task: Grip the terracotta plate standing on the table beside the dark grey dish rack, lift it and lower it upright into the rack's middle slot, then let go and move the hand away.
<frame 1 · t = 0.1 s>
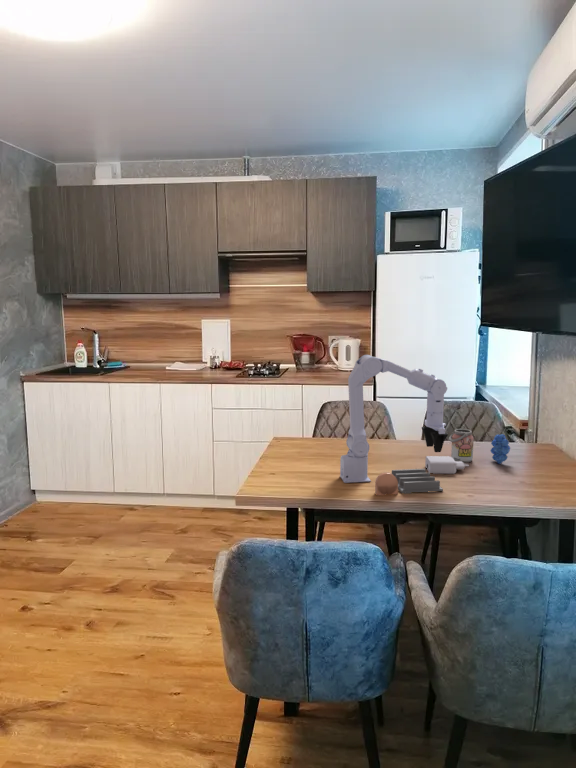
hand: (433, 449, 196), 10 cm above the table, tool pointing down, fingers open, 7 cm apart
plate: (386, 493, 180), on the table
grapes: (501, 463, 213), on the table
charger: (447, 471, 205), on the table
beverage can: (460, 460, 218), on the table
dish rack: (414, 485, 188), on the table
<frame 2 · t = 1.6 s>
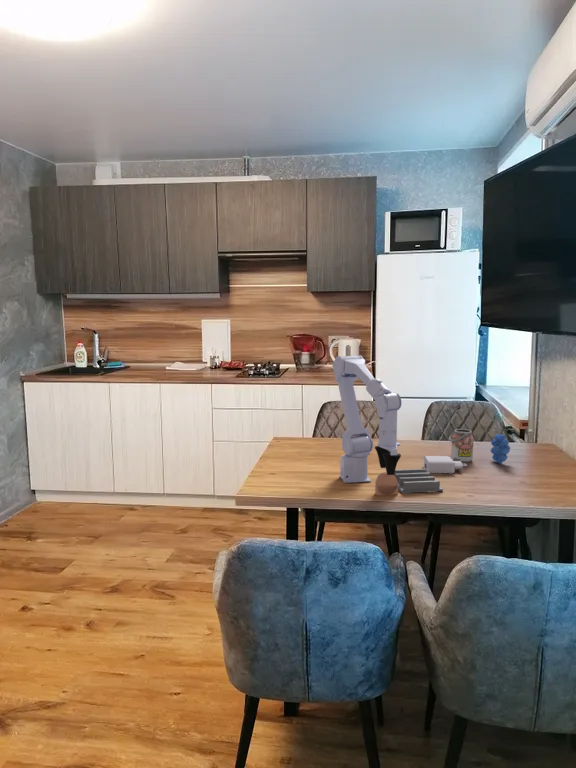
hand: (387, 471, 179), 8 cm above the table, tool pointing down, fingers open, 7 cm apart
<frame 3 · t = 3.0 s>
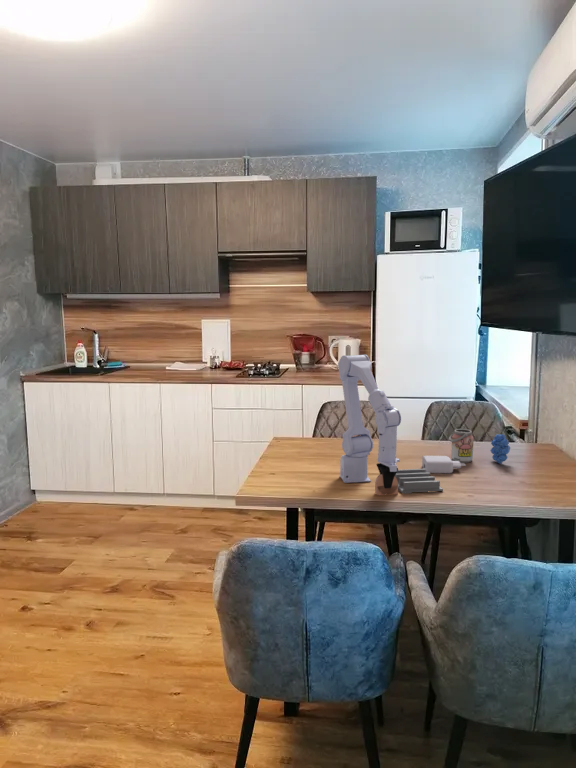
hand: (386, 486, 180), 2 cm above the table, tool pointing down, fingers closed on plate, 2 cm apart
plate: (386, 493, 180), on the table, touching gripper
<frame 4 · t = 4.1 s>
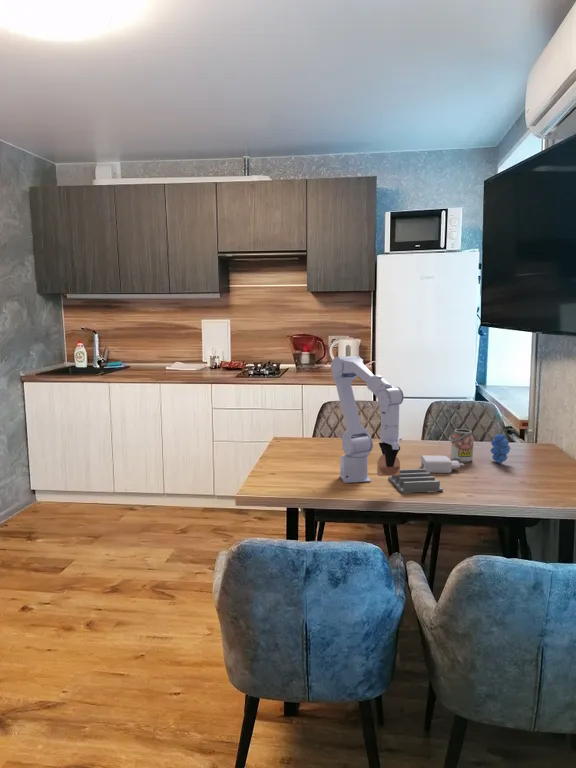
hand: (388, 465, 179), 9 cm above the table, tool pointing down, fingers closed on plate
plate: (388, 474, 180), point 6 cm above the table, touching gripper
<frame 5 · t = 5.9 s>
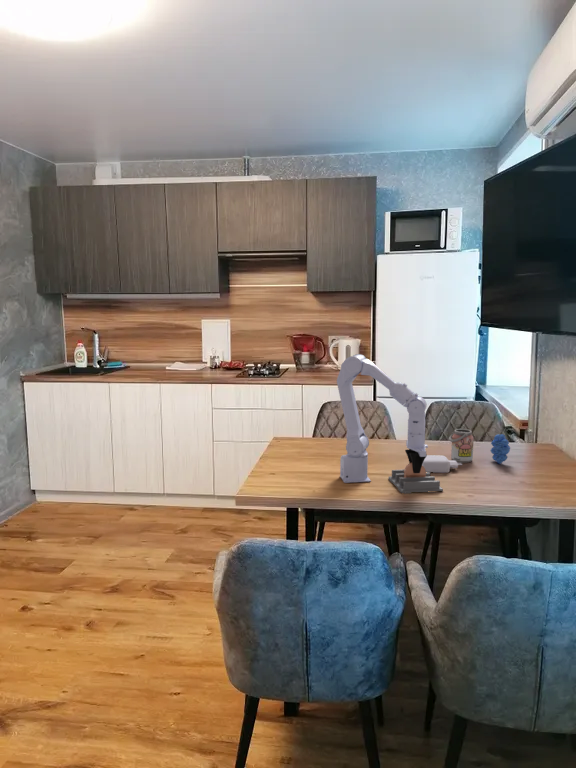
hand: (415, 471, 187), 5 cm above the table, tool pointing down, fingers closed on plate, 2 cm apart
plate: (414, 482, 188), point 1 cm above the table, touching dish rack, gripper
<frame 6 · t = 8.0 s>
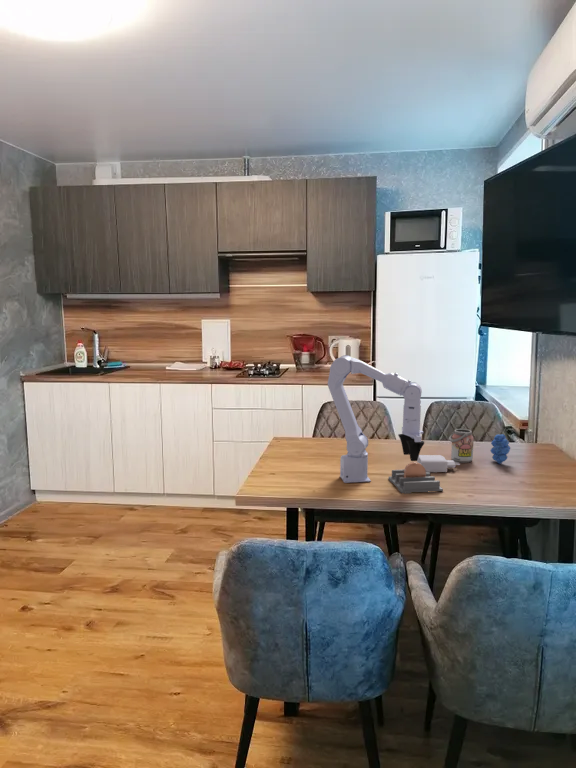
hand: (410, 457, 189), 9 cm above the table, tool pointing down, fingers open, 7 cm apart
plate: (414, 482, 188), point 1 cm above the table, touching dish rack
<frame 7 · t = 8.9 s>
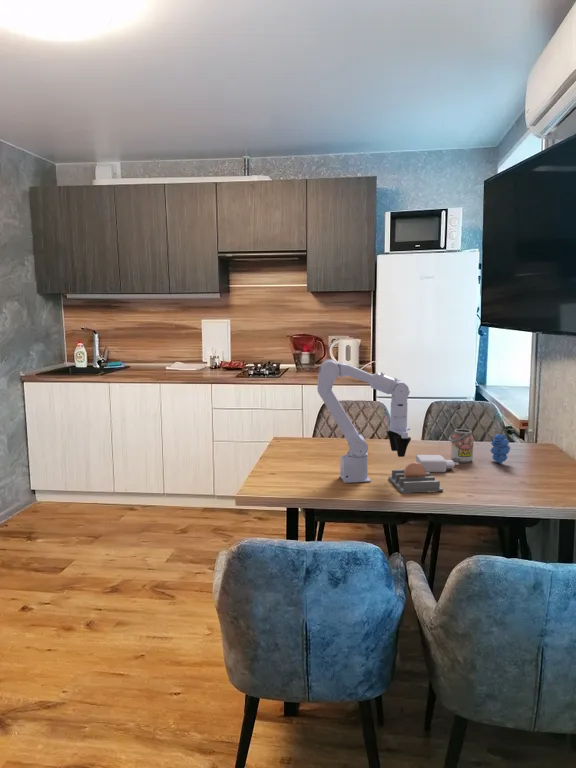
hand: (397, 453, 193), 9 cm above the table, tool pointing down, fingers open, 7 cm apart
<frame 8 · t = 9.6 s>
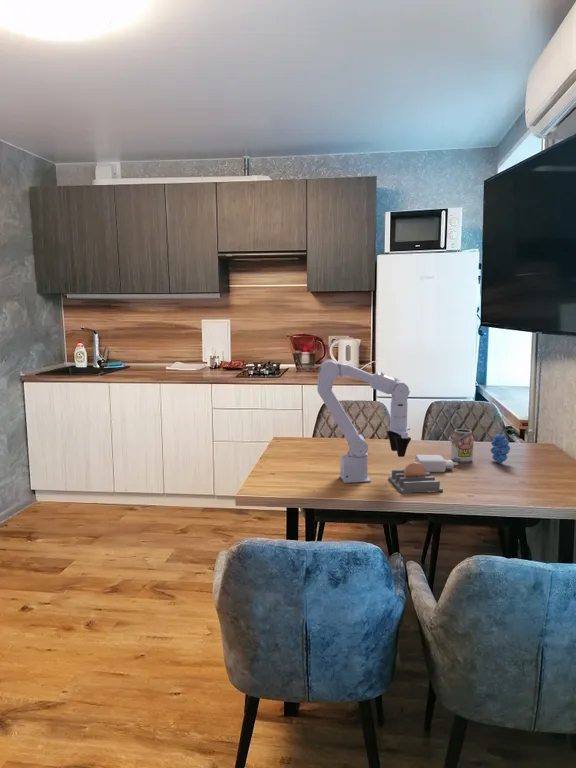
hand: (397, 453, 193), 9 cm above the table, tool pointing down, fingers open, 7 cm apart
at the end: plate 0.1 cm off-centre on the dish rack, point 1.0 cm above the dish rack's base; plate tilted 0°; the gripper is holding nothing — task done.
